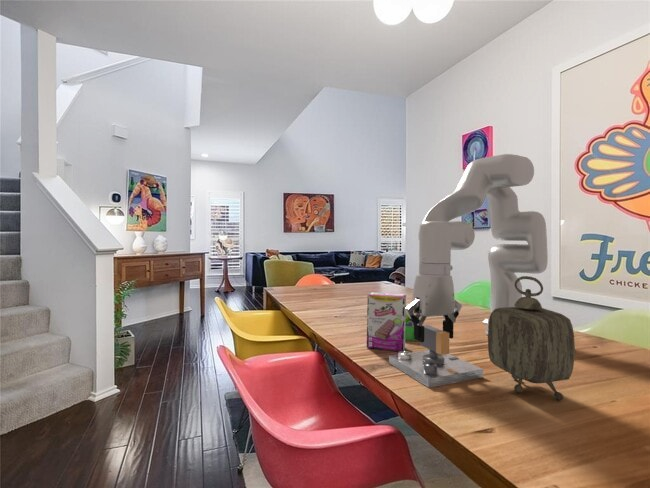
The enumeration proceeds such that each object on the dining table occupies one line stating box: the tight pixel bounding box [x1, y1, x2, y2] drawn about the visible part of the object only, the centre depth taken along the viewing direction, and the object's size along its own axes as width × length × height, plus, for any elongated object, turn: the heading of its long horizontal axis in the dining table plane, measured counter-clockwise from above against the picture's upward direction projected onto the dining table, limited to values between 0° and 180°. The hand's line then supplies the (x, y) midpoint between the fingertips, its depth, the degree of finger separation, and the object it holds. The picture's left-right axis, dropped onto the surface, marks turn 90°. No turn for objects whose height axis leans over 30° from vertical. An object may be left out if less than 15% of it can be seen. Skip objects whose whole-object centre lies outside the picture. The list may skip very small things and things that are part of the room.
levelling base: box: [388, 349, 484, 389], centre depth 84 cm, size 16×16×4 cm
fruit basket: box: [405, 314, 418, 342], centre depth 114 cm, size 11×9×11 cm
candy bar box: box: [366, 291, 407, 352], centre depth 101 cm, size 11×5×16 cm, turn 71°
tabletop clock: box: [487, 275, 576, 401], centre depth 73 cm, size 14×9×25 cm, turn 17°
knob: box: [419, 324, 450, 365], centre depth 84 cm, size 5×8×8 cm, turn 20°
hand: (433, 338), depth 84 cm, fingers open, 8 cm apart
